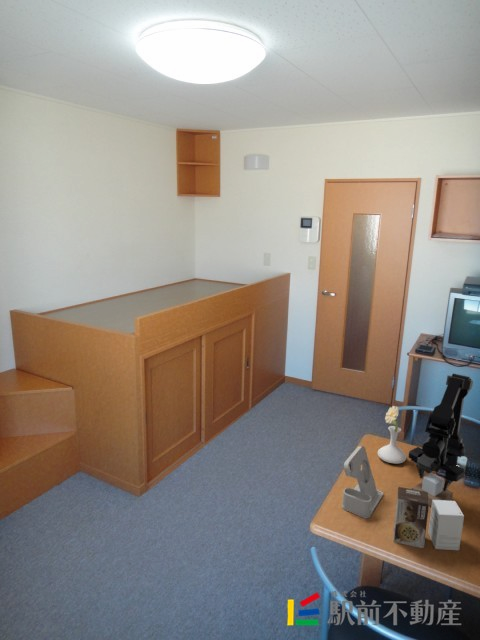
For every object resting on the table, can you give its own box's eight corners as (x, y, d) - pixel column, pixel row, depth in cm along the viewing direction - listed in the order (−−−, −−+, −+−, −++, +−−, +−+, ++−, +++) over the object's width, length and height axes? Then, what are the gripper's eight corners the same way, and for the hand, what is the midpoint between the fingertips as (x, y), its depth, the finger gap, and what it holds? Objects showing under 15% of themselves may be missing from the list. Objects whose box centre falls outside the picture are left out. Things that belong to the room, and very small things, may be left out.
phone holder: (367, 520, 151) (372, 473, 147) (339, 508, 157) (342, 462, 152) (384, 494, 165) (388, 450, 161) (357, 484, 171) (361, 441, 166)
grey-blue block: (429, 484, 166) (431, 472, 165) (442, 491, 162) (444, 479, 161) (421, 489, 163) (423, 477, 162) (434, 496, 159) (436, 484, 158)
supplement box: (450, 534, 145) (456, 500, 142) (459, 551, 138) (465, 516, 135) (427, 532, 146) (431, 498, 143) (434, 549, 139) (439, 514, 136)
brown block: (426, 485, 170) (427, 478, 169) (451, 499, 162) (452, 492, 161) (410, 495, 164) (411, 488, 164) (435, 510, 156) (436, 502, 156)
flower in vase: (378, 449, 195) (383, 396, 189) (406, 454, 191) (412, 400, 185) (375, 464, 183) (380, 408, 177) (405, 471, 179) (411, 413, 173)
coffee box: (423, 535, 145) (428, 491, 140) (424, 549, 139) (430, 504, 135) (393, 528, 147) (398, 485, 143) (392, 542, 141) (398, 497, 137)
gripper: (401, 440, 161) (396, 479, 165) (450, 465, 146) (444, 506, 150) (419, 432, 167) (415, 469, 171) (468, 454, 152) (462, 494, 156)
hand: (432, 484), depth 162 cm, fingers open, 9 cm apart
